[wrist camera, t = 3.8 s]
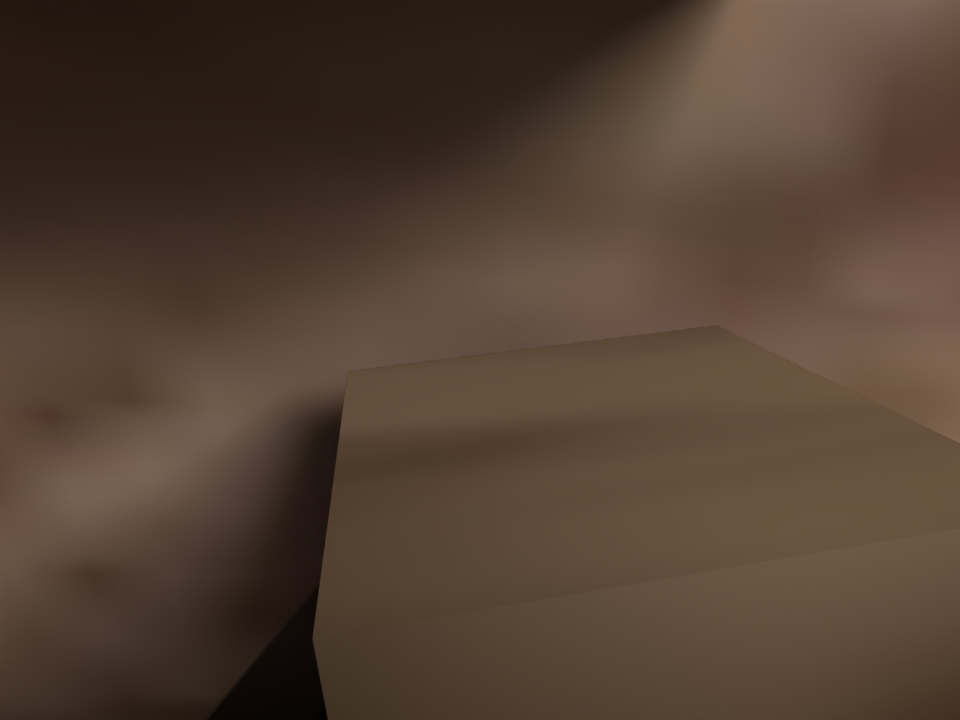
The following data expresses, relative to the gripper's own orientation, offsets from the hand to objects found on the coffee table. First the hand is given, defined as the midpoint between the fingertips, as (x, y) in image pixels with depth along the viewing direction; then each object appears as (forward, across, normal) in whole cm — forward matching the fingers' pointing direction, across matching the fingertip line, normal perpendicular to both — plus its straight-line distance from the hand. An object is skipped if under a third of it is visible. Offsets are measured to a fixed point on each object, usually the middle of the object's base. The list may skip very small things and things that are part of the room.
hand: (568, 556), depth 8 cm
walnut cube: (+1, 0, 0) cm, 1 cm away
